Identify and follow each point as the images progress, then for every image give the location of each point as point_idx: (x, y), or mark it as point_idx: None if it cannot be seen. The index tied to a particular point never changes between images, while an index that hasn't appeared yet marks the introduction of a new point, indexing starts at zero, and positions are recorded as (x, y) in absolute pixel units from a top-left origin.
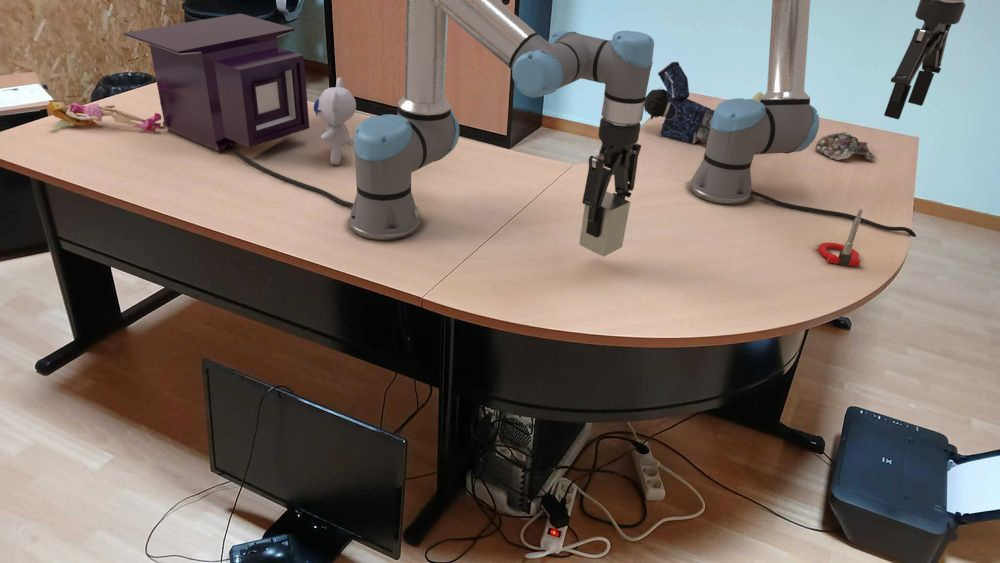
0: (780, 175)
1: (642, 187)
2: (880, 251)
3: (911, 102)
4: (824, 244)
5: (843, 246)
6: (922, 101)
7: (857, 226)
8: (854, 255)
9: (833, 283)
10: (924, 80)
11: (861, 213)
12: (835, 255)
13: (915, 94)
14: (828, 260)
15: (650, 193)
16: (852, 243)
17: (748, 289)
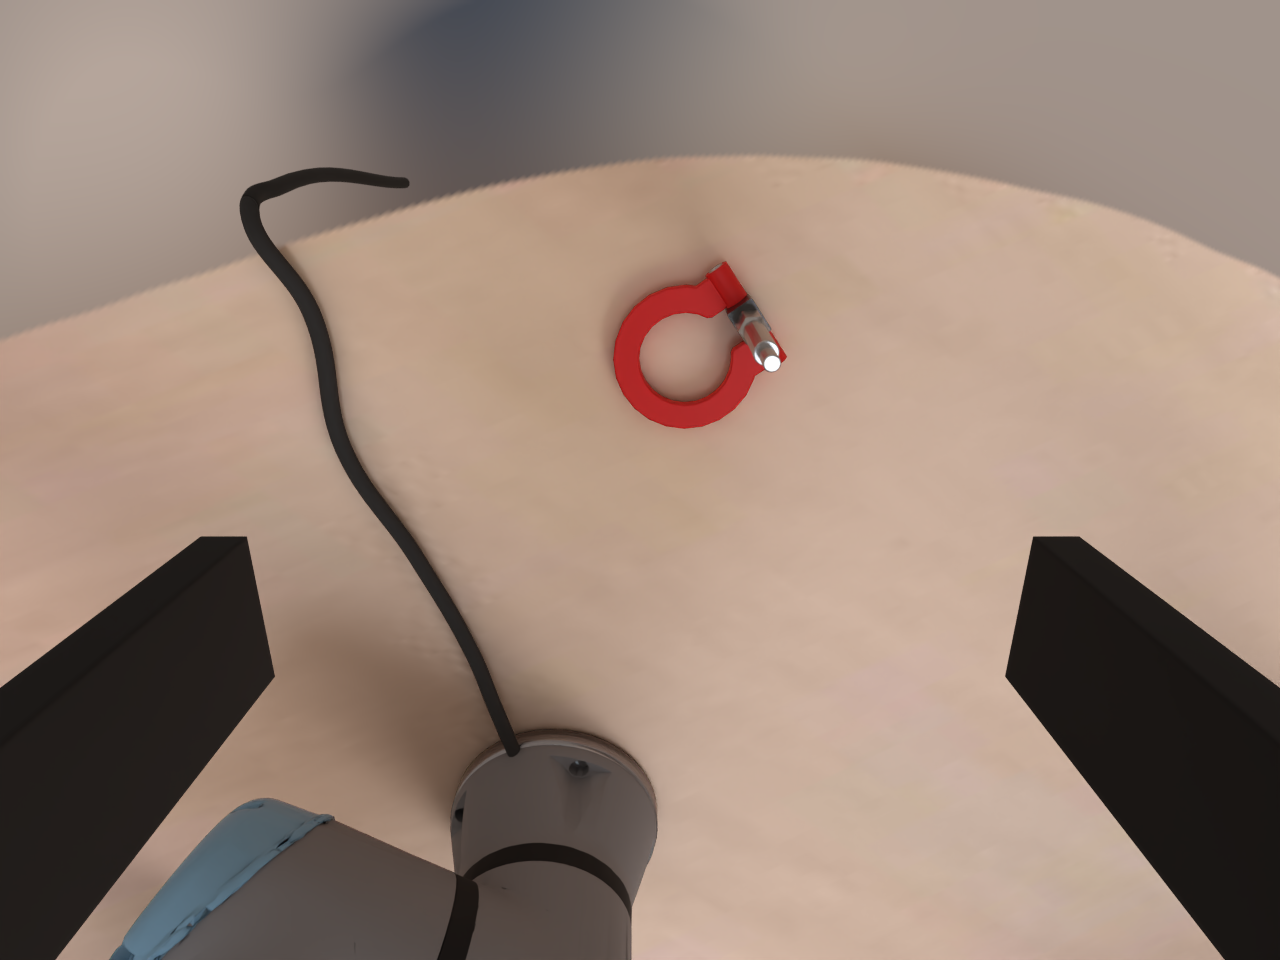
0: (229, 754)
1: (726, 947)
2: (513, 253)
3: (262, 647)
4: (675, 417)
5: (630, 363)
6: (220, 566)
7: (769, 336)
8: (677, 303)
9: (906, 279)
10: (32, 827)
11: (772, 351)
12: (737, 353)
13: (203, 701)
14: (785, 356)
15: (746, 917)
16: (756, 319)
17: (1143, 458)
